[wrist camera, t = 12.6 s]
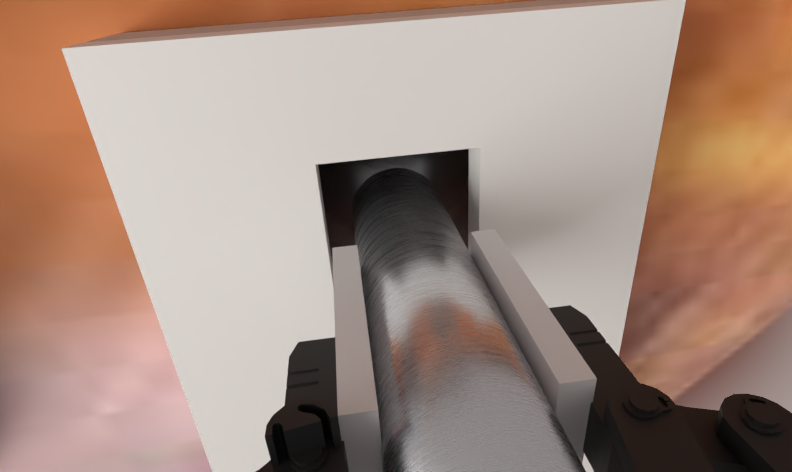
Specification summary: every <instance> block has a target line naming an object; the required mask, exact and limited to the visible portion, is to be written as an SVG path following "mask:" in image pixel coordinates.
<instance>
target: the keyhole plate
mask: <svg viewBox="0 0 792 472" xmlns="http://www.w3.org/2000/svg"><path fill="white" fill-rule="evenodd" d="M685 2H686V0H534V1H521V2H509V3H496V4H483V5H470V6H458V7H445V8H432V9H419V10H407V11H394V12H381V13H368V14H356V15H343V16H330V17H317V18H305V19H292V20H279V21H266V22H254V23H241V24H228V25H215V26H203V27H190V28H177V29H164V30H152V31H139V32H126V33H119V34H115V35H111V36H107V37H104V38H100V39H96V40H92V41H88V42H84V43H81V44H77V45H73V46H69V47H65V48H62V51H63V54H64V57H65V60H66V63H67V65H68V68H69V71H70V74H71V77H72V80H73V82H74V85H75V88H76V91H77V94H78V96H79V99H80V102H81V105H82V108H83V110H84V113H85V116H86V119H87V122H88V124H89V127H90V130H91V133H92V136H93V138H94V141H95V144H96V147H97V150H98V152H99V155H100V158H101V161H102V164H103V166H104V169H105V172H106V175H107V178H108V181H109V183H110V186H111V189H112V192H113V195H114V197H115V200H116V203H117V206H118V209H119V211H120V214H121V217H122V220H123V223H124V225H125V228H126V231H127V234H128V237H129V239H130V242H131V245H132V248H133V251H134V253H135V256H136V259H137V262H138V265H139V267H140V270H141V273H142V276H143V279H144V282H145V284H146V287H147V290H148V293H149V296H150V298H151V301H152V304H153V307H154V310H155V312H156V315H157V318H158V321H159V324H160V326H161V329H162V332H163V335H164V338H165V340H166V343H167V346H168V349H169V352H170V354H171V357H172V360H173V363H174V366H175V368H176V371H177V374H178V377H179V380H180V383H181V385H182V388H183V391H184V394H185V397H186V399H187V402H188V405H189V408H190V411H191V413H192V416H193V419H194V422H195V425H196V427H197V430H198V433H199V436H200V439H201V441H202V444H203V447H204V450H205V453H206V455H207V458H208V461H209V464H210V467H211V469H212V472H256V471H257V470H259V469H260V468H262V467H263V466H264V465H265V464H267V463H268V462H269V461H270V455H269V451H268V448H267V444H266V440H265V431H266V425H267V424H268V422H269V421H270V419H271V417H272V416H273V415H274V414H275V413H276V412H277V411H278V410H280V409H281V408H282V407H283V406H285V396H286V389H287V386H286V385H287V376H288V363H289V356H290V354H291V353H292V351H293V350H294V348H295V347H296V345H297V344H298V342H302V341H310V340H317V339H325V338H333V337H335V316H334V286H333V265H332V258H331V251H330V244H329V237H328V230H327V223H326V216H325V209H324V202H323V195H322V188H321V181H320V174H319V167H318V164H327V163H336V162H346V161H356V160H365V159H375V158H385V157H394V156H404V155H414V154H423V153H433V152H443V151H452V150H462V149H469V173H468V251H469V253H470V255H471V232H474V231H483V230H492V229H495V230H496V232H497V233H498V235H499V236H500V238H501V239H502V241H503V242H504V243H505V245H506V246H507V248H508V249H509V251H510V252H511V254H512V255H513V257H514V258H515V260H516V261H517V262H518V264H519V265H520V267H521V268H522V270H523V271H524V273H525V274H526V276H527V277H528V279H529V280H530V281H531V283H532V284H533V286H534V287H535V289H536V290H537V292H538V293H539V295H540V296H541V298H542V299H543V300H544V302H545V303H546V305H547V306H548V308H553V307H561V306H568V305H571V306H572V307H574V308H575V309H577V310H578V311H580V312H581V313H583V314H585V315H586V316H587V317H588V318H589V319H590V321H591V322H592V323H593V324H594V326H595V327H596V328H597V331H598V332H600V333H601V335H602V336H603V337H604V339H605V340H606V343H608V344H609V345H610V346H611V348H612V349H613V350H614V351H615V353H616V354H617V355H618V356H619V352H620V347H621V342H622V336H623V331H624V326H625V320H626V315H627V310H628V304H629V299H630V294H631V289H632V283H633V278H634V273H635V267H636V262H637V257H638V251H639V246H640V241H641V236H642V230H643V225H644V220H645V214H646V209H647V204H648V198H649V193H650V188H651V183H652V177H653V172H654V167H655V161H656V156H657V151H658V145H659V140H660V135H661V129H662V124H663V119H664V114H665V108H666V103H667V98H668V92H669V87H670V82H671V76H672V71H673V66H674V61H675V55H676V50H677V45H678V39H679V34H680V29H681V23H682V18H683V13H684V8H685ZM582 465H583V467H584V469H585V471H586V472H593V471H594V470H593V468H592V467H591V465H590V463H589V461H588V459H587V457H586V456H585V454H584V457H583V463H582Z"/></svg>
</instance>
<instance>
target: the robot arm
mask: <svg viewBox="0 0 792 472" xmlns="http://www.w3.org/2000/svg"><path fill="white" fill-rule="evenodd" d="M332 255H333V286H334V316H335V337H333V338H325V339H317V340H310V341H302V342H298V344H297V345H296V347H295V348H294V350H293V351H292V353H291V354H290V356H289V363H288V376H287V385H286V386H287V389H286V396H285V406H283V407H282V408H281V409H280V410H278V411H277V412H276V413H275V414H274V415H273V416H272V417H271V419H270V421H269V422H268V424H267V425H266V431H265V440H266V444H267V448H268V451H269V455H270V461H269V462H268V463H267V464H265V465H264V466H263V467H262V468H260V469H259V470H257V471H256V472H382V464H381V446H382V441H381V432H380V423H379V413H378V405H377V397H376V389H375V381H374V373H373V365H372V358H371V350H370V342H369V334H368V326H367V318H366V310H365V303H364V295H363V287H362V279H361V271H360V263H359V255H358V247H357V245H352V246H344V247H335V248H332ZM471 257H472V259H473V260H474V262H475V264H476V266H477V268H478V270H479V272H480V274H481V275H482V277H483V279H484V281H485V283H486V285H487V287H488V289H489V290H490V292H491V294H492V296H493V298H494V300H495V302H496V304H497V305H498V307H499V309H500V311H501V313H502V315H503V317H504V319H505V320H506V322H507V324H508V326H509V328H510V330H511V332H512V334H513V335H514V337H515V339H516V341H517V343H518V345H519V347H520V349H521V350H522V352H523V354H524V356H525V358H526V360H527V362H528V364H529V365H530V367H531V369H532V371H533V373H534V375H535V377H536V379H537V381H538V382H539V384H540V386H541V388H542V390H543V392H544V394H545V396H546V397H547V399H548V401H549V403H550V405H551V407H552V409H553V411H554V412H555V414H556V416H557V418H558V420H559V422H560V424H561V426H562V427H563V429H564V431H565V433H566V435H567V437H568V439H569V441H570V442H571V444H572V446H573V448H574V450H575V452H576V454H577V456H578V457H579V459H580V461H581V463H583V457H584V454H585V456H586V457H587V459H588V461H589V463H590V465H591V467H592V468H593V470H594V471H593V472H792V413H790V412H789V411H788V410H786V409H785V408H783V407H782V406H780V405H778V404H777V403H775V402H772V401H770V400H768V399H766V398H763V397H760V396H755V395H750V394H734V395H732V396H729V397H727V398H725V399H724V401H723V403H722V405H721V407H720V410H719V411H716V410H707V409H698V408H689V407H684V406H678V405H675V404H674V402H673V401H672V400H671V399H670V398H669V397H668V396H667V395H665V394H664V393H662V392H661V391H659V390H658V389H656V388H653V387H650V386H648V385H645V384H640V383H639V382H638V381H637V380H636V378H635V377H634V376H633V374H632V373H631V372H630V371H629V369H628V368H627V367H626V365H625V364H624V363H623V362H622V360H621V359H620V358H619V356H618V355H617V354H616V353H615V351H614V350H613V349H612V348H611V346H610V345H609V344H608V343H606V340H605V339H604V337H603V336H602V335H601V333H600V332H598V331H597V328H596V327H595V326H594V324H593V323H592V322H591V321H590V319H589V318H588V317H587V316H586V315H585V314H583V313H581V312H580V311H578V310H577V309H575V308H574V307H572V306H571V305H568V306H561V307H553V308H548V306H547V305H546V303H545V302H544V300H543V299H542V298H541V296H540V295H539V293H538V292H537V290H536V289H535V287H534V286H533V284H532V283H531V281H530V280H529V279H528V277H527V276H526V274H525V273H524V271H523V270H522V268H521V267H520V265H519V264H518V262H517V261H516V260H515V258H514V257H513V255H512V254H511V252H510V251H509V249H508V248H507V246H506V245H505V243H504V242H503V241H502V239H501V238H500V236H499V235H498V233H497V232H496V230H495V229H492V230H483V231H474V232H471Z"/></svg>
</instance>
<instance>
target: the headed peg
mask: <svg viewBox="0 0 792 472" xmlns="http://www.w3.org/2000/svg"><path fill="white" fill-rule="evenodd" d="M318 167H319V174H320V181H321V188H322V195H323V202H324V209H325V216H326V223H327V230H328V237H329V244H330V251H331V258H332V265H333V255H332V248H335V247H344V246H352V245H357V247H358V255H359V263H360V271H361V279H362V287H363V295H364V303H365V310H366V318H367V326H368V334H369V342H370V350H371V358H372V365H373V373H374V381H375V389H376V397H377V405H378V413H379V423H380V432H381V441H382V446H381V464H382V472H586V471H585V469H584V467H583V465H582V463H581V461H580V459H579V457H578V456H577V454H576V452H575V450H574V448H573V446H572V444H571V442H570V441H569V439H568V437H567V435H566V433H565V431H564V429H563V427H562V426H561V424H560V422H559V420H558V418H557V416H556V414H555V412H554V411H553V409H552V407H551V405H550V403H549V401H548V399H547V397H546V396H545V394H544V392H543V390H542V388H541V386H540V384H539V382H538V381H537V379H536V377H535V375H534V373H533V371H532V369H531V367H530V365H529V364H528V362H527V360H526V358H525V356H524V354H523V352H522V350H521V349H520V347H519V345H518V343H517V341H516V339H515V337H514V335H513V334H512V332H511V330H510V328H509V326H508V324H507V322H506V320H505V319H504V317H503V315H502V313H501V311H500V309H499V307H498V305H497V304H496V302H495V300H494V298H493V296H492V294H491V292H490V290H489V289H488V287H487V285H486V283H485V281H484V279H483V277H482V275H481V274H480V272H479V270H478V268H477V266H476V264H475V262H474V260H473V259H472V257H471V255H470V253H469V251H468V173H469V149H462V150H452V151H443V152H433V153H423V154H414V155H404V156H394V157H385V158H375V159H365V160H356V161H346V162H336V163H327V164H318Z"/></svg>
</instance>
